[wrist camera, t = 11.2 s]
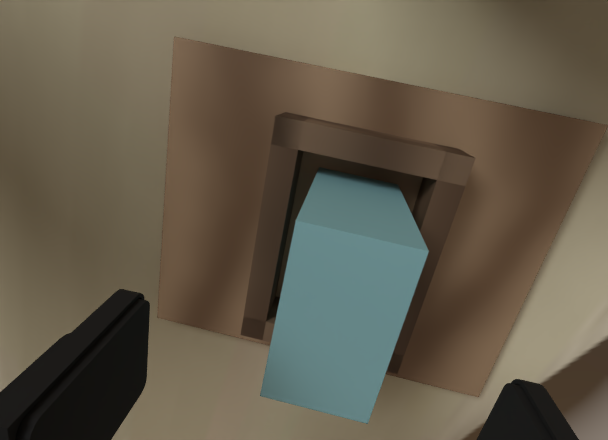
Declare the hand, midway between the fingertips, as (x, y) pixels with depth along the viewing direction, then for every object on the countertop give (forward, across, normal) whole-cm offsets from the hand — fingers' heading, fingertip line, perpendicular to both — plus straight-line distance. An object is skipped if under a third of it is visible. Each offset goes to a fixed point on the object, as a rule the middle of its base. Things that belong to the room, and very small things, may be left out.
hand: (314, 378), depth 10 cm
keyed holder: (+12, -1, 0) cm, 12 cm away
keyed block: (+11, -1, 0) cm, 11 cm away
